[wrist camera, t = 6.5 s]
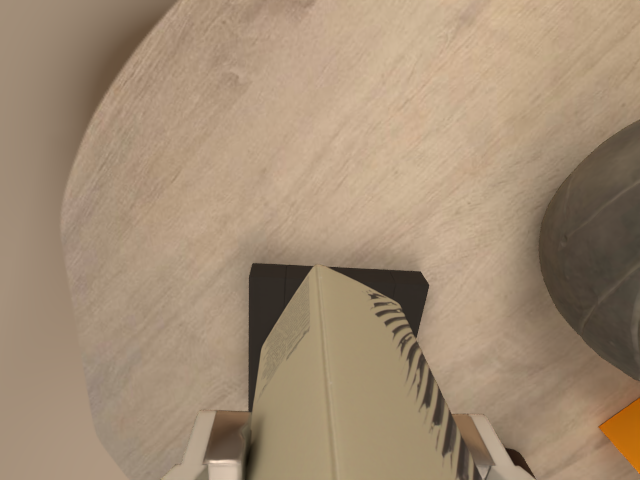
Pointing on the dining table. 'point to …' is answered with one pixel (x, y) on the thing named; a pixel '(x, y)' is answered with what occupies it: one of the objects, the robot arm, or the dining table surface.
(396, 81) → the dining table surface
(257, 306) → the pad
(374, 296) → the box
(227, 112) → the dining table surface
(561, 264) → the bowl
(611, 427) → the orange juice
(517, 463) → the bottle
